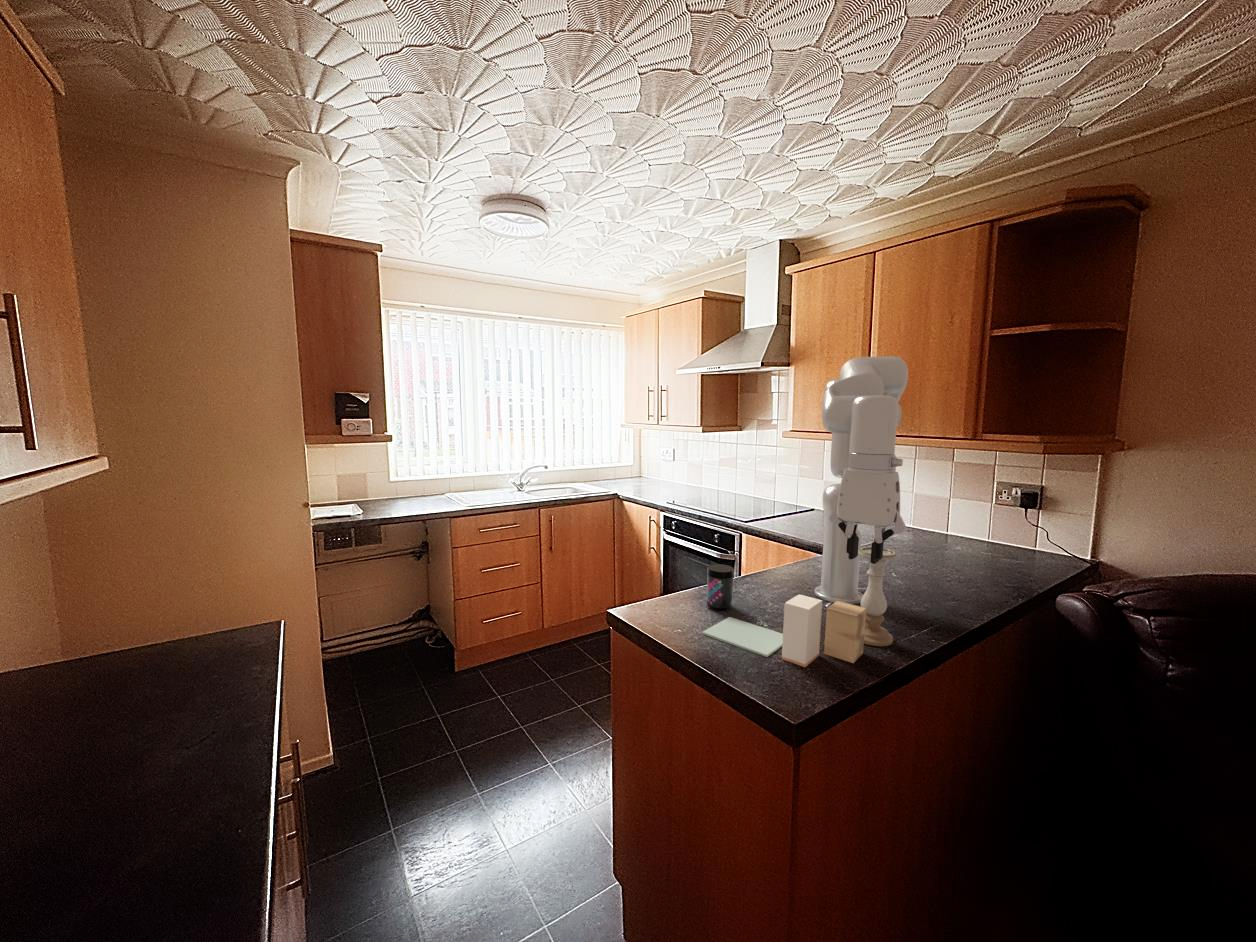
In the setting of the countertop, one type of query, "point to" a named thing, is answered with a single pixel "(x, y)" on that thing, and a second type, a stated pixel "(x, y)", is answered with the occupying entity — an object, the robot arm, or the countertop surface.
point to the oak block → (845, 631)
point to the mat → (746, 636)
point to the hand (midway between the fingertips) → (863, 559)
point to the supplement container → (720, 587)
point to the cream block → (801, 630)
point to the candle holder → (875, 600)
